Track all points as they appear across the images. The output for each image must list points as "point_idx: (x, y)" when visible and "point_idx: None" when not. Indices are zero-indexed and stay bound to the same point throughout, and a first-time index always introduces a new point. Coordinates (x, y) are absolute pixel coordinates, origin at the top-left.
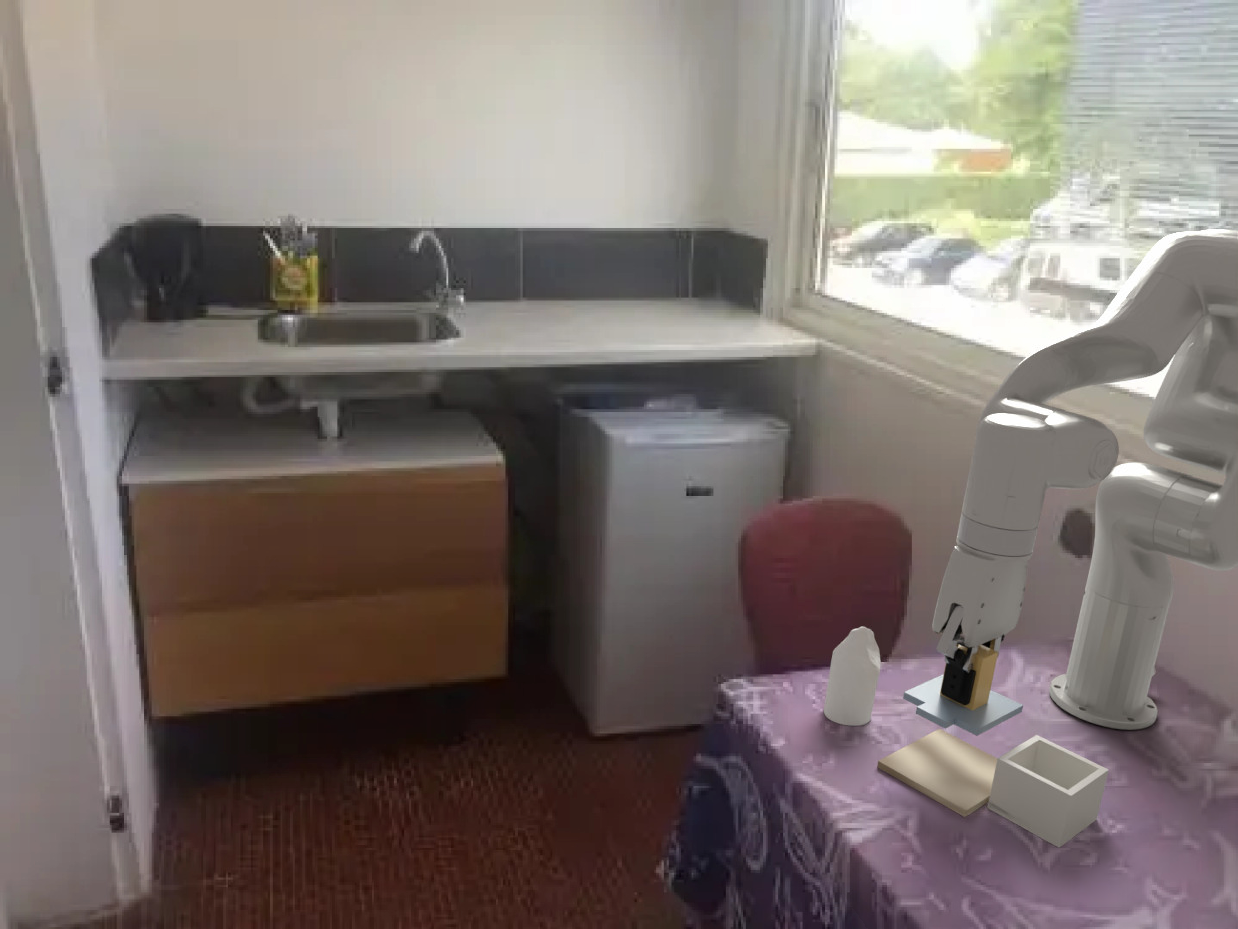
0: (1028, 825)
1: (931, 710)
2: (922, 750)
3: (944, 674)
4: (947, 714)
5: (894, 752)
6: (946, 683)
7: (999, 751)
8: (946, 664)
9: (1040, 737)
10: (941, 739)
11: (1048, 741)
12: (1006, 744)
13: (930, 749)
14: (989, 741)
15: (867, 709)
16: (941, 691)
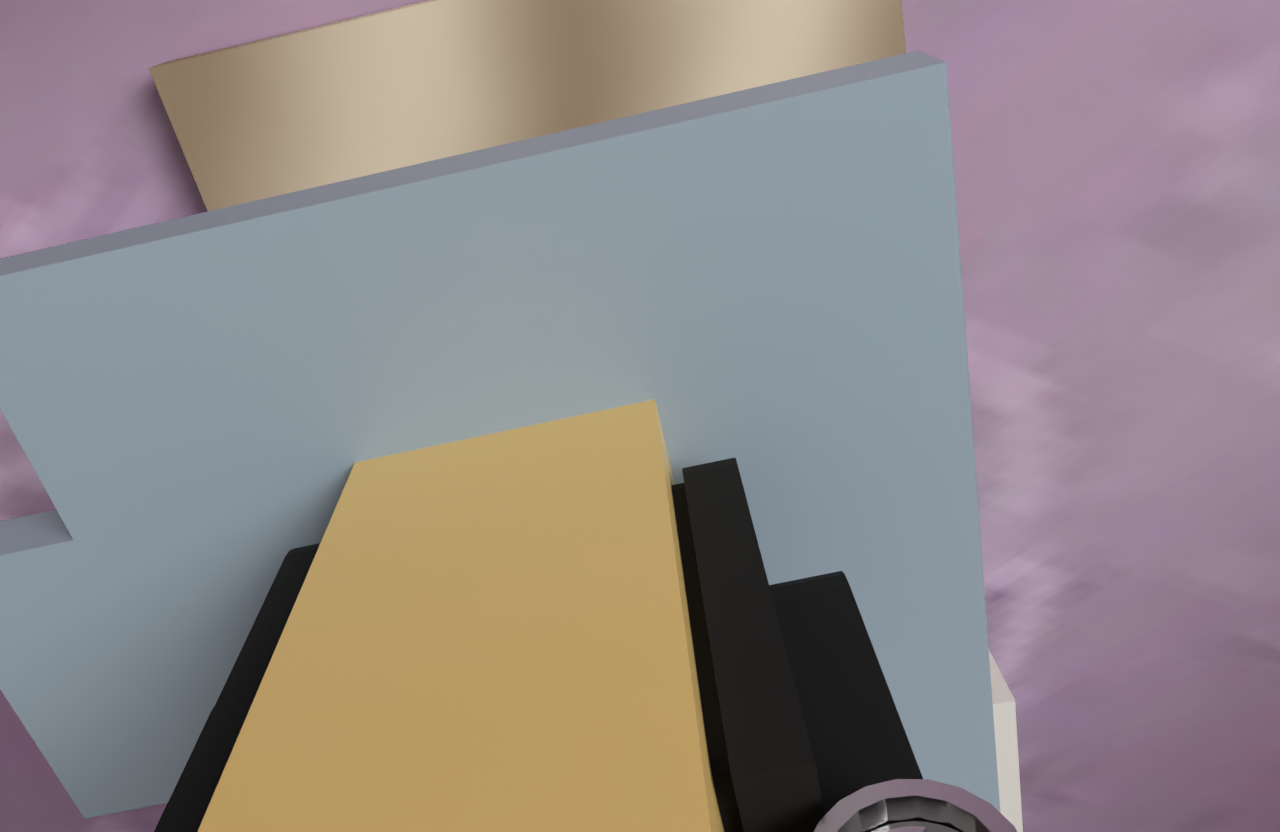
0: None
1: (49, 659)
2: (544, 85)
3: (217, 707)
4: (174, 742)
5: (328, 28)
6: (191, 754)
7: (1074, 225)
8: (163, 829)
9: (1009, 725)
10: (782, 25)
11: (1009, 768)
12: (1191, 182)
13: (606, 99)
14: (1128, 112)
15: None
16: (293, 554)
